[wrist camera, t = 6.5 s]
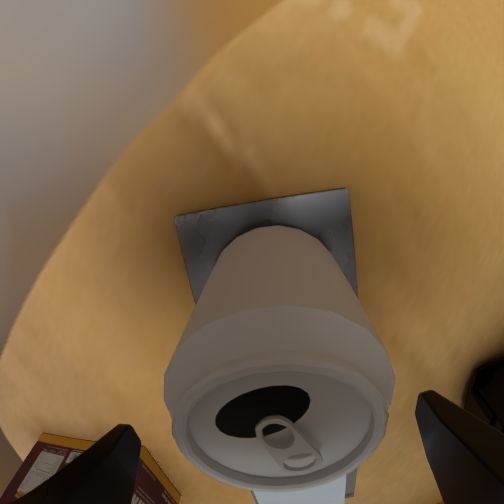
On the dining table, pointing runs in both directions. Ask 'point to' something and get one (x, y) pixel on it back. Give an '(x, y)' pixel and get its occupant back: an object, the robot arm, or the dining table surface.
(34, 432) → the dining table surface
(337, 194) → the base
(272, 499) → the grey stepped machine block
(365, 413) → the can
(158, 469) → the supplement box
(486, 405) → the robot arm
